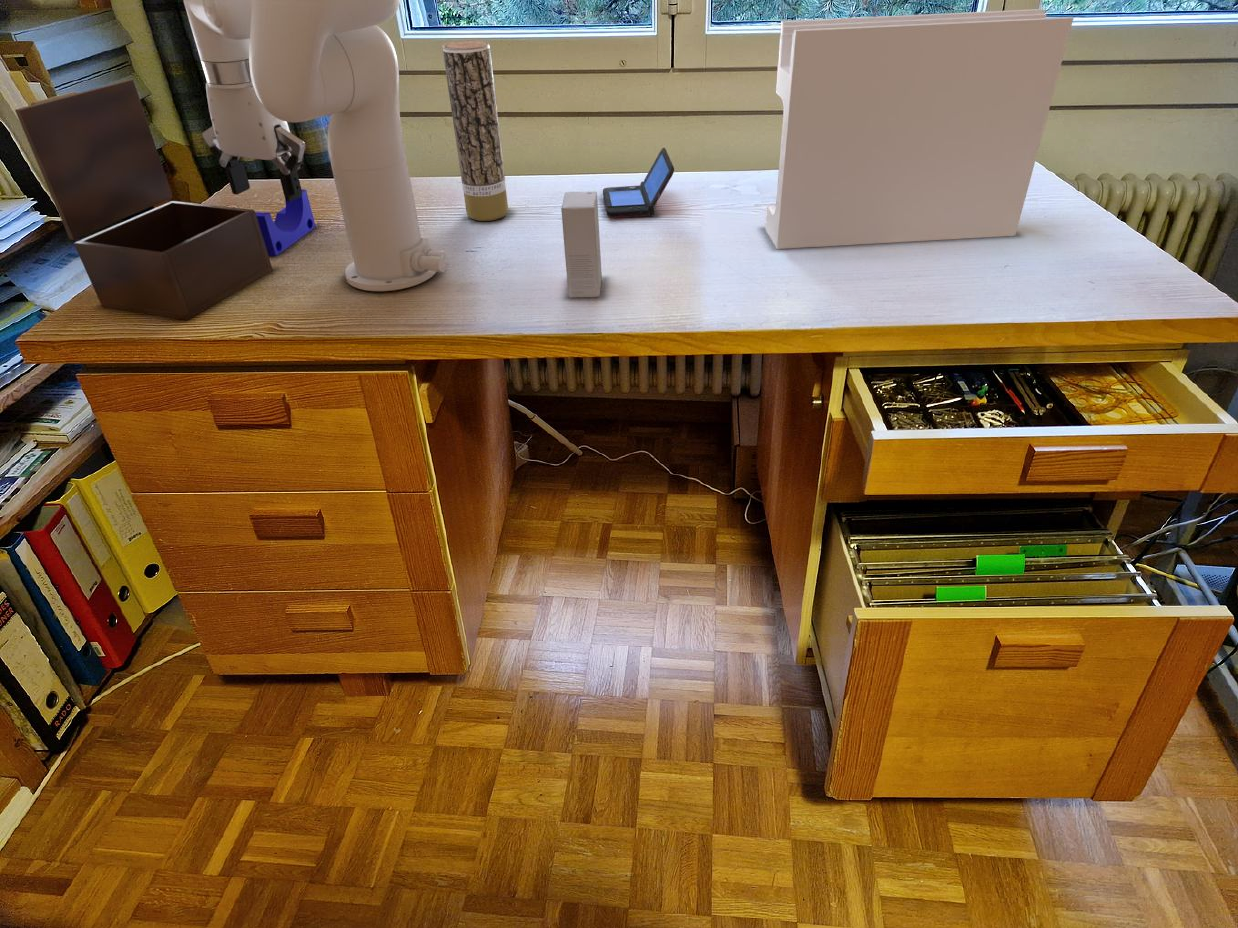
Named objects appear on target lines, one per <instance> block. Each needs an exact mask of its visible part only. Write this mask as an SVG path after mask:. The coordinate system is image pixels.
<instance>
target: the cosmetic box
mask: <svg viewBox="0 0 1238 928" xmlns="http://www.w3.org/2000/svg"><path fill="white" fill-rule="evenodd" d="M561 204H562V205H561V221H562V222H561V223H562V234H563V236H562V237H563V247H564V258H565V272H566V282H567V295H568V298H571V299H572V298H573V299H575V298H599V297H600V296H601V289H602V278H603V274H602V257H601V240H600V239H601V238H600V223H599V220H600V219H599V203H598V192H597V191H596V190H595V191H565V192H564V195H563V199H562V203H561Z"/></svg>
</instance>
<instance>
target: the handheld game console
mask: <svg viewBox="0 0 1238 928" xmlns="http://www.w3.org/2000/svg"><path fill="white" fill-rule="evenodd" d="M674 172H675V166H674V164H673V162H672V160H671V158H670V156H669V153H668V152H667V149H666V148H665V147H662V148H661V150H660V151H659V152H658V154H657V156H656V158H655V160H654V162H653V163H652V165H651V167H650V168H649V170H648V172H647V174H646V176H645V178H644V179H643V181H641V182H640V184H639V185H625V186H610V187H609V186H608V187H604V188H603V189H602V196H603V202H604V206H605V211H606V216H608V217H609V218H611V219H618V218H633V217H648V216H649V217H653V216H654V215H655V211H654V207H655V206H656V205H657V203H658V201H659V199H660V198H661V196H662V194H663V192H664V191H665V189H666V188H667V186H668V184H669V182H670V180H671V179H672V177H673V175H674Z"/></svg>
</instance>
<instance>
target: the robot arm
mask: <svg viewBox="0 0 1238 928" xmlns="http://www.w3.org/2000/svg"><path fill="white" fill-rule="evenodd" d="M182 1H183V5H184V9H185V11H186V14H187V18H188V22H189V25H190V28H191V32H192V35H193V38H194V39H193V40H194V42H195V46H196V49H197V51H198V55H199V59H200V62H201V65H202V70H203V73H204V76H205V79H206V83H205V90H206V98H207V105H208V112H209V115H210V120H211V124H212V126H210V127H209V128H207V129H206V130H204V131H203V132H202V133H201V136H202V138H203V139H204V141H205V142H206V144H207V145H208V147H209V148H210V152H211V153H212V154H213V156H215V157H216V158H217V160H218V163H219V165H220V166H221V167H223V168H224V170H225V173H226V176H227V180H228V184H229V187H230V190H231V193H232V194H233V195H236V196H237V195H239V194H241V193H243V192H246V191H248V190H250V188H251V185H250V181H249V179H248V175H247V171H246V168H245V167H246V166H245V164H244V162H243V161H240V159H241V158H246V159H254V160H265V161H271V162H272V163H273V164H274V165H275V167H277V169H278V170H279V171H280V172H281V173H280V174H279V177H278V178H279V181H280V184H281V188H282V192H283V196H284V201H285V200H286V201H288V202H292V201H293V200H295V199H297V198H299V197H301V196H302V189H303V188H302V186H301V185H302V184H301V181H300V177H299V174H298V170H300V169H301V165H302V163H303V161H304V159H305V157H304V155H305V150H306V143H305V142H304V141H303V140H302V139H300V138H299V137H297V136H296V135H294V134H293V133H291V132H290V128H289V124H288V123H302V122H308V121H312V120H316V119H319V118H323V117H327V116H330V118H329V122H328V127H327V134H326V137H327V139H326V145H327V152H328V153H327V154H328V159H329V162H330V167H331V171H332V176H333V180H334V183H335V188H336V193H337V197H338V201H339V204H340V210H341V213H342V217H343V222H344V226H345V230H346V234H347V239H348V243H349V247H350V251H351V255H352V259H353V261H352V262H350V263H349V264H348V265H347V266H346V268H345V270H344V276H345V279H346V282H347V284H348V285H350V286H352V288H353V287H354V288H355V289H359V290H362V291H369V292H390V291H391V292H392V291H398V290H403V289H408V288H412V287H415V286H418V285H420V284H422V283H425V282H426V281H428V280H430V279H431V278H433V276H434V275H436V273H437V272H439V273H443V272H445V270H446V268H447V257H448V256H447V253H446V252H445V251H441V250H432V249H431V248H430V247H431V246H430V242H429V238H427V237H426V238H424V237H422V236H421V230H420V224H419V219H418V214H417V213H418V212H417V209H416V208H417V207H416V202H415V198H414V192H413V187H412V181H411V175H410V170H409V166H408V165H409V163H408V159H407V152H406V147H405V141H404V136H403V129H402V121H401V111H400V69H399V60H398V56H397V52H396V48H395V46H394V44H393V42H392V41H391V38H390V37H389V35H388V34H387V33H386V32H385V31H384V30H383V28H381V27H380V26H379V25H380V24H383V23H386V22H388V21H390V20H391V19H392V18H393V17H394V16H395V15H396V13H397V12H398V10H399V8H400V5H401V3H402V2H401V1H402V0H182Z"/></svg>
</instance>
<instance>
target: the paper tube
mask: <svg viewBox="0 0 1238 928" xmlns="http://www.w3.org/2000/svg"><path fill="white" fill-rule="evenodd" d="M441 47H442V56H443V63H444V70H445V74H446V83H447V89H448V96H449V97H448V98H449V103H450V110H451V117H452V123H453V131H454V137H455V143H456V145H455V146H456V151H457V158H458V165H459V172H460V179H461V185H462V190H463V198H464V205H465V211H466V215H467V216H468V218H470V219H471V220H474V221H480V222H490V221H495V220H499V219H501V218H504V217H505V216H507V214H508V212H509V204H508V203H509V202H508V195H507V193H508V192H507V185H506V176H505V175H506V174H505V166H504V159H503V158H504V157H503V150H502V139H501V132H500V131H501V130H500V123H499V115H498V107H497V106H498V105H497V97H496V96H497V95H496V89H495V81H494V79H495V78H494V72H493V71H494V70H493V63H492V54H491V46H490V42H489V41H485V40H459V41H451V42H447V43H445V44H443V45H442V46H441Z"/></svg>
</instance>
